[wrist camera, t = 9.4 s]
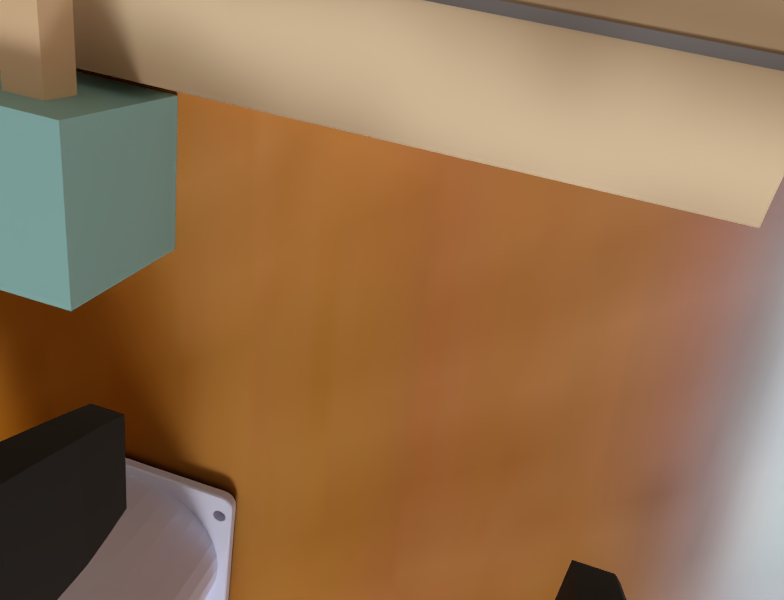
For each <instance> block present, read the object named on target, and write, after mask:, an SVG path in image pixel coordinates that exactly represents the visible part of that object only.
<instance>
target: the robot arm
mask: <svg viewBox="0 0 784 600" xmlns="http://www.w3.org/2000/svg"><path fill="white" fill-rule="evenodd" d="M235 510H236V502H235V499H234V498H233V496H232V495H231V494H230V493H228V492H226V491H223V490H220V489H217V488H214V487H211V486H208V485H205V484H202V483H199V482H196V481H193V480H190V479H187V478H184V477H181V476H178V475H175V474H172V473H169V472H166V471H164V470H161V469H158V468H155V467H152V466H149V465H146V464H143V463H140V462H137V461H134V460H131V459H128V458H125V422H124V414H121V413H118V412H115V411H112V410H109V409H106V408H103V407H99V406H96V405H93V404H89V405H86V406H84V407H81V408H79V409H76V410H74V411H71V412H69V413H66V414H64V415H61V416H59V417H57V418H54V419H52V420H50V421H47V422H45V423H43V424H40V425H38V426H36V427H33V428H31V429H29V430H26V431H24V432H22V433H19V434H17V435H15V436H13V437H10V438H8V439H6V440H3V441H1V442H0V600H228V597H229V584H230V572H231V559H232V547H233V534H234V522H235ZM221 512H222V513H221ZM555 600H626V598H625V595H624V592H623V589H622V587H621V584H620V582H619V580H618V578H617V576H616V575H615V574H613V573H610V572H607V571H604V570H601V569H598V568H595V567H592V566H589V565H586V564H583V563H579V562H576V561H573V560H572V562H571V564H570V566H569V569H568V571H567V573H566V576H565V578H564V580H563V583H562V585H561V587H560V590H559V592H558V594H557V597H556V599H555Z"/></svg>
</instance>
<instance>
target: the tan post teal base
mask: <svg viewBox="0 0 784 600" xmlns="http://www.w3.org/2000/svg"><path fill="white" fill-rule="evenodd" d="M0 73H1V74H0V290H2V291H5V292H9V293H12V294H15V295H19V296H22V297H25V298H29V299H32V300H35V301H39V302H42V303H45V304H49V305H52V306H55V307H59V308H62V309H65V310H69V311H72V310H74V309H76V308H78V307H79V306H81V305H83V304H84V303H86V302H88V301H89V300H91V299H93V298H94V297H96V296H98V295H99V294H101V293H103V292H104V291H106V290H108V289H109V288H111V287H113V286H114V285H116V284H118V283H119V282H121V281H123V280H124V279H126V278H128V277H129V276H131V275H133V274H134V273H136V272H138V271H139V270H141V269H143V268H144V267H146V266H148V265H149V264H151V263H153V262H154V261H156V260H158V259H159V258H161V257H163V256H164V255H166V254H168V253H169V252H171V251H173V250H174V249H175V217H176V163H177V108H178V95H174V94H169V93H165V92H161V91H157V90H153V89H148V88H144V87H140V86H136V85H131V84H127V83H123V82H119V81H115V80H110V79H106V78H102V77H98V76H93V75H89V74H85V73H81V72H77V71H76V60H75V40H74V20H73V0H0Z"/></svg>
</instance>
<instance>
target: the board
mask: <svg viewBox="0 0 784 600" xmlns="http://www.w3.org/2000/svg"><path fill="white" fill-rule="evenodd" d="M73 20H74V40H75V60H76V68H78V69H83V70H87V71H91V72H95V73H100V74H104V75H108V76H113V77H117V78H121V79H125V80H130V81H134V82H138V83H142V84H147V85H151V86H155V87H159V88H164V89H168V90H172V91H177V92H181V93H185V94H189V95H194V96H198V97H202V98H206V99H211V100H215V101H219V102H223V103H228V104H232V105H236V106H241V107H245V108H249V109H253V110H258V111H262V112H266V113H270V114H275V115H279V116H283V117H287V118H292V119H296V120H300V121H304V122H309V123H313V124H317V125H322V126H326V127H330V128H334V129H339V130H343V131H347V132H351V133H356V134H360V135H364V136H368V137H373V138H377V139H381V140H386V141H390V142H394V143H398V144H403V145H407V146H411V147H415V148H420V149H424V150H428V151H432V152H437V153H441V154H445V155H450V156H454V157H458V158H462V159H467V160H471V161H475V162H479V163H484V164H488V165H492V166H496V167H501V168H505V169H509V170H513V171H518V172H522V173H526V174H531V175H535V176H539V177H543V178H548V179H552V180H556V181H560V182H565V183H569V184H573V185H577V186H582V187H586V188H590V189H595V190H599V191H603V192H607V193H612V194H616V195H620V196H624V197H629V198H633V199H637V200H641V201H646V202H650V203H654V204H659V205H663V206H667V207H671V208H676V209H680V210H684V211H688V212H693V213H697V214H701V215H705V216H710V217H714V218H718V219H722V220H727V221H731V222H735V223H740V224H744V225H748V226H752V227H757V228H760V225H761V223H762V221H763V219H764V217H765V215H766V212H767V210H768V208H769V206H770V204H771V202H772V199H773V197H774V195H775V193H776V191H777V189H778V186H779V184H780V182H781V180H782V178H783V176H784V0H73Z"/></svg>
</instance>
